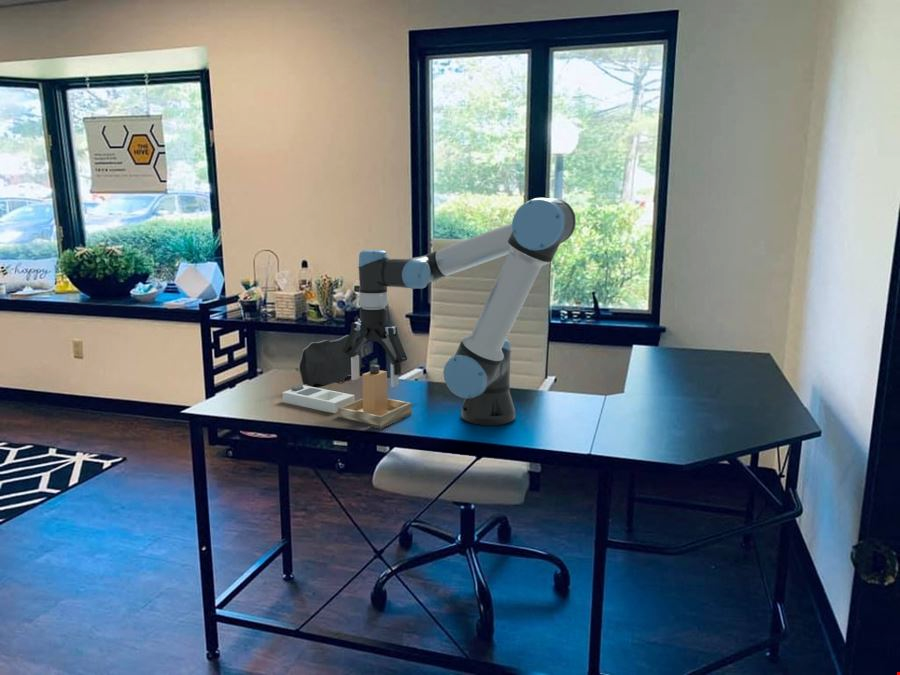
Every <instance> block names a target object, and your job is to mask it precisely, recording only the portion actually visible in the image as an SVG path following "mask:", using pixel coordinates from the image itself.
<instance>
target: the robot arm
mask: <svg viewBox="0 0 900 675" xmlns="http://www.w3.org/2000/svg"><path fill="white" fill-rule="evenodd" d="M576 223H577V220H576V214H575V212H574V209H573V208H572V206H571V205H570V204H569V203H568V202H566V201H565V200H563V199H561V198H555V197H554V198H553V197H552V198H551V197H550V198H549V197H535V198H532V199H530V200H528V201H525V202H524V203H523V204H521V205H520V206H519V207H518V209H517V210H516V211H515V214H514V215H513V218H512V221H511V222H510V223H507V224H504V225H501V226H499V227H496V228H494V229H491V230H488V231H485V232H483V233H480V234H478V235H477V234H476V236H473V237H472V236H471V237H470V238H468V239H464V240H462V241H459V242H457V243H454V244H451V245H449V246H446V247H443V248H441V249H439V250H435V251H432V252H429V253H427V254H425V255H421V256H415V257H411V258H410V257H409V258H391V257H389V258H388V253H387V251H386V250H382V249H365V250H362V251H360V252H359V254H358V266H357V267H358V278H359V281H358V282H359V295H358V296H359V303H358V304H359V307H360V308H359V320H360V321H355V322H352V323H351V327H350V332H349V334H348V335H349V337H348V339H347V342H346V344H345V347H344V349H343V353H344V354H347V355H348V356H349V366H350V367H351V374H350V376H351V379H350V380H352V381H356V380H359V379H360V378H361V377H360V369H359V356H356V355H357V353H358V352H359V350H360V351H361V349H362V348H363V347H364V345H365V344H366V343H367V342H371V341H373V342H375V343H377V342H378V344H380V345H381V346H382V348H383V350H384V351H385V352H386V354H387V356H388V357H389V359H390V360H391V361H392V363H390V388H395V387H397V386H399V384H400V381H399V380H400V376H399V375H401V373H402V371H401V370H402V367H401V365H402V363H403V362H406V361H407V360H408V357H407V354H406V351H405V349H404V347H403V345H402V342H401V339H400V337H399V334H398V327H397V326H396V325H394V326H388V325H387V323H388V319H389V318H388V308H387V306H388V287H389V288H391V287H392V288H393V287H394V288H403V289H405V288H406V289H411V290H415V289H424V288H426V287H427V286H428V284H429V283H433V282H436V281H438V280H440V279H442V278H445V277H447V276H450V275H453V274H456V273H458V272H461V271H464V270H467V269H469V268H473V267H476V266H479V265H481V264H484V263H487V262H489V261H493V260H495V259H499V258H503V257H504V256H507V257H506V259H505V260H504V263H503V265H502V268H501V270H500V271H499V274H498V276H497V278H496V280H495V282H494V285H493V286H492V288H491V291H490V293H489V295H488V298H487V299H486V301H485V303H484V306H483V308H482V310H481V313H480V315H479V316H478V319H477V321H476V323H475V325H474V328H473V329H472V332H471V333H470V334H468V335H465V336H463V338H462V339H461V341H460V343H459V345H458V348H457V349H456V352H455V354H454V355H453V356H451V357H450V358H449V359H448V360H447V362H446V363H445V365H444V367H443V375H442V376H443V381H444V382H445V384H446V387H447V388H448V389H449V390H450V392H451V393H453V394H454V395H455V396H457V397H459V398H462V399H464V401H463V403H462V407H461V419H463V421H465V422H466V423H467V422H468V423H470V424H474V425H479V426H500V425H506V424H510V423H511V422H514V420H515V419H516V408H515V404H514V402H513V398H512V395H511V393H510V392H511V391H510V385H511V383H510V382H511V381H510V379H511V378H510V377H511V356H512V354H511V353H512V349H511V342H510V340H509V339H507V338H508V336H509V334H510V333H511V330H512V328H513V326H514V324H515V322H516V320H517V318H518V316H519V314H520V311H521V309H522V308H523V306H524V303H525V301H526V299H527V297H528V296H529V294H530V292H531V289H532V288H533V286H534V283H535V282H536V279H537V277H538V275H539V273H540V271H541V269H542V267H544V266H546V265H549V264H551V263H552V261H553V258H554V257H555V254H556V252H557V250H558V249H559V247H560V245H561V244H562V243H564V242H566V241H567V240H568V239H570V237H571V236H572V235H573V234H574V231H575V229H576V225H577V224H576ZM360 332H361V334H360ZM359 334H360V335H359ZM358 336H359V337H358ZM357 338H358V339H357ZM355 341H356V343H355ZM354 344H355V345H354Z"/></svg>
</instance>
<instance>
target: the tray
mask: <svg viewBox="0 0 900 675" xmlns="http://www.w3.org/2000/svg"><path fill="white" fill-rule="evenodd" d="M337 413H338V414H337V415H338V416H337V417H338V418H342V419H347V420H351V421H355V422H356V421H357V422H360V423H365V424H368V425H367V426H369V428H372V427H374V428H373V429H376V428H379V429H378V430H383V429H385V428H387V427H389V426H391V425H393V424H395V423H398V422H400V421H401V420H403V419H402V418H404V417H406V416H408V417H409V415H410V416H412V402H408V401H403V400H397V399H392V398H388V397H387V413H385V414H383V415H381V416H379V415H374V414H369V413H365V412H363V397H362V398H359V399H357V400H355V401H354V402H352V403H349V404H347V405H345V406H342V407H340V408H338V412H337ZM406 418H407V417H406ZM404 419H405V418H404ZM392 423H393V424H392ZM390 424H391V425H390ZM388 425H389V426H388ZM386 426H387V427H386ZM384 427H385V428H384ZM382 428H383V429H382Z"/></svg>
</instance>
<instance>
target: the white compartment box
mask: <svg viewBox="0 0 900 675" xmlns="http://www.w3.org/2000/svg"><path fill="white" fill-rule="evenodd" d="M281 393H282V403H285V404H290V405H293V406H299V407H303V408H309V409H313V410H317V411H321V412H325V413H331V414H337V413H338V408H340V407H342V406H345V405H347V404H349V403H352V402H354V401H356V396H355V394H351V393H346V392H345V393H344V392H340V391H335V390H329V389H325V388H320V387H314V386H311V385H306V384H305V385H303V384H302V385H300V384H299V385H294V386H293V387H291V389H289V390H285V391H282V392H281Z"/></svg>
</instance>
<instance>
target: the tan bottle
mask: <svg viewBox="0 0 900 675" xmlns="http://www.w3.org/2000/svg"><path fill="white" fill-rule="evenodd" d="M361 381H362V398H363V412H365V413H369V414H374V415H379V416H381V415H383V414H385V413H387V398H388V371H386V370H380V364H371V365H369V371H368V372H365V373H362V379H361Z"/></svg>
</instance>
